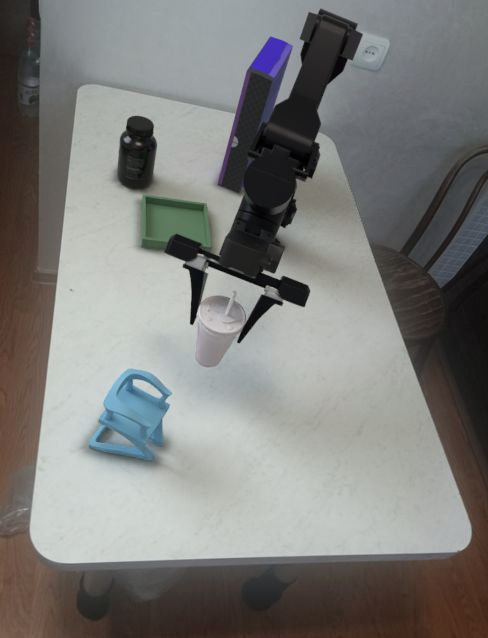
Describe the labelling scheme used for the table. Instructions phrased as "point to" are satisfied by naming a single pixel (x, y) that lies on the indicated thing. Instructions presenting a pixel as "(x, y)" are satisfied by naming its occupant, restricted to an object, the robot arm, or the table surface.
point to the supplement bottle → (137, 153)
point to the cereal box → (254, 109)
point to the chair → (133, 415)
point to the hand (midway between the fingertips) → (214, 333)
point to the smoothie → (217, 328)
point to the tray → (173, 221)
